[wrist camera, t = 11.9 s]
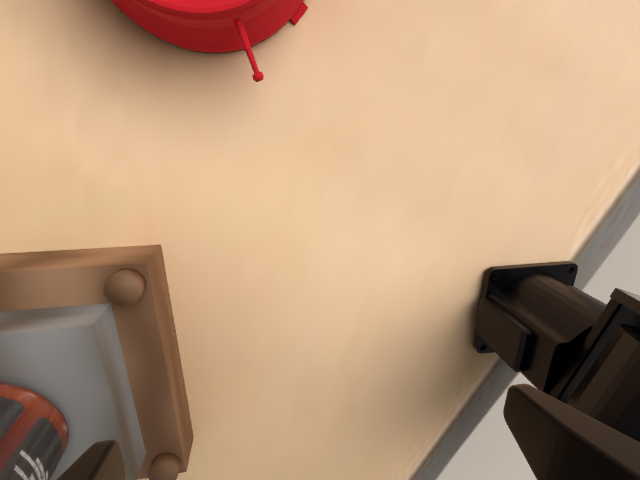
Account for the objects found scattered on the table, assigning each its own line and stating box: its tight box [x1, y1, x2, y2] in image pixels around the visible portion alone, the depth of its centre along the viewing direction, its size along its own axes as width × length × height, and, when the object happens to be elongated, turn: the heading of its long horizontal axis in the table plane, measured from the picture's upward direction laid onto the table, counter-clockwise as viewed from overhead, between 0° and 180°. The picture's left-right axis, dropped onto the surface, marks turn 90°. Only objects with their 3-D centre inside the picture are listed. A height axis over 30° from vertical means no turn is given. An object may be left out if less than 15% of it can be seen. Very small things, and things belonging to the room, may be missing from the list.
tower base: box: [0, 245, 193, 480], centre depth 18 cm, size 14×14×4 cm
